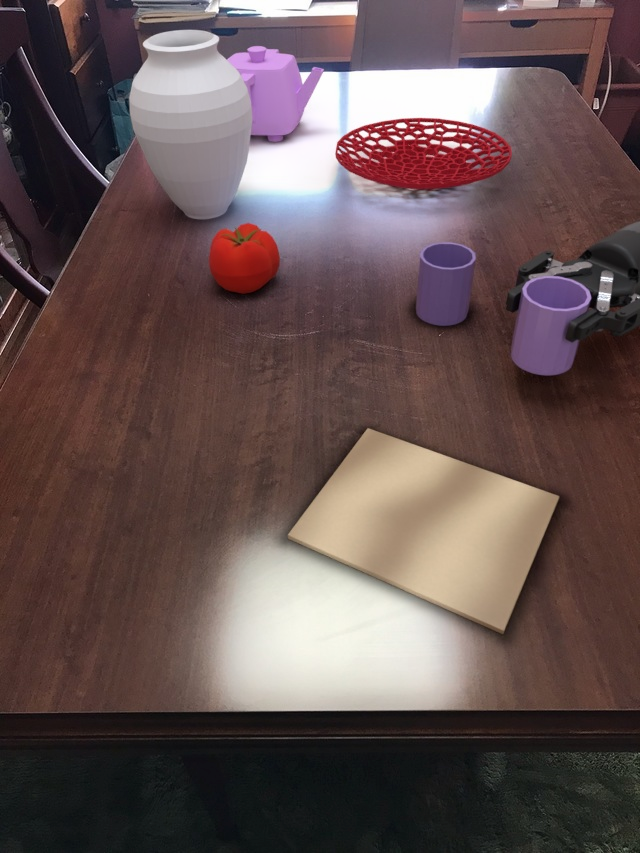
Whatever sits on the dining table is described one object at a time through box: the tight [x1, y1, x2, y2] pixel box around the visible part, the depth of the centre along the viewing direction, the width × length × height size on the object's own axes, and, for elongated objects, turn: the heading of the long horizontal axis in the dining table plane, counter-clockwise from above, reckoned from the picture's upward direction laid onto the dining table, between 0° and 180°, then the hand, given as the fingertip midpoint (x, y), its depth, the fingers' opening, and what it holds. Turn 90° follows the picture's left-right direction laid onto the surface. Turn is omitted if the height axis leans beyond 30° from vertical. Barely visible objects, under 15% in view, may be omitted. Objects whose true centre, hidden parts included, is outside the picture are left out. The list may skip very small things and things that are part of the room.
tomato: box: [208, 222, 281, 295], centre depth 92 cm, size 9×9×8 cm
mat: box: [287, 427, 560, 635], centre depth 63 cm, size 20×16×1 cm
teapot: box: [226, 45, 325, 143], centre depth 132 cm, size 19×18×15 cm
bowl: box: [334, 117, 513, 190], centre depth 117 cm, size 29×30×5 cm
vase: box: [128, 29, 252, 220], centre depth 103 cm, size 18×18×25 cm
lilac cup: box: [415, 241, 477, 327], centre depth 86 cm, size 7×7×8 cm
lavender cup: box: [510, 276, 591, 376], centre depth 72 cm, size 7×7×8 cm
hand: (539, 318), depth 69 cm, fingers closed on lavender cup, 6 cm apart
